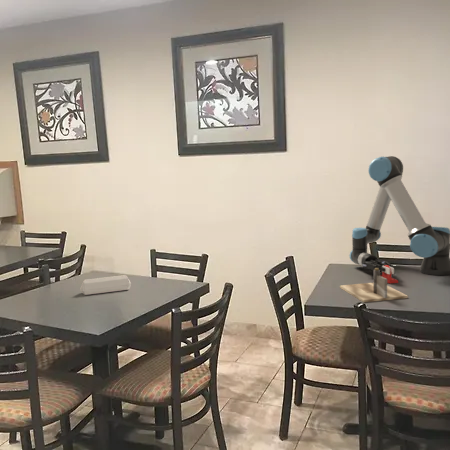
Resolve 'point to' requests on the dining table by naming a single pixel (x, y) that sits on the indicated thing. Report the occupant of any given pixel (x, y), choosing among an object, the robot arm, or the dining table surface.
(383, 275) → the bracket
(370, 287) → the hinge mount
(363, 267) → the robot arm
